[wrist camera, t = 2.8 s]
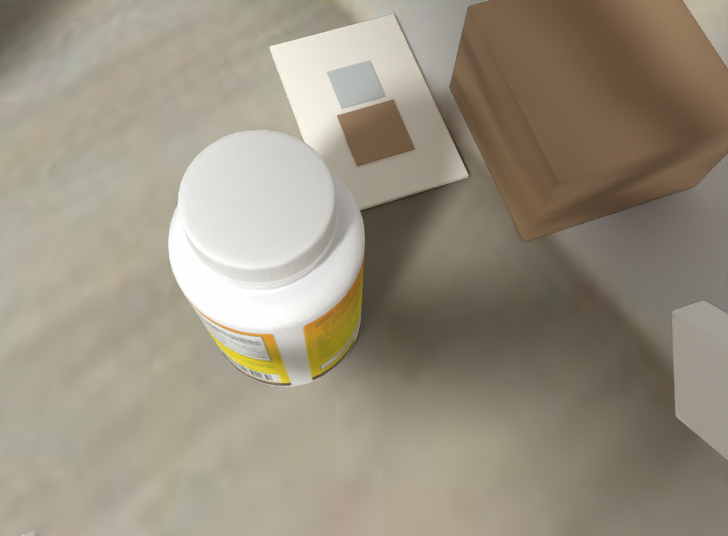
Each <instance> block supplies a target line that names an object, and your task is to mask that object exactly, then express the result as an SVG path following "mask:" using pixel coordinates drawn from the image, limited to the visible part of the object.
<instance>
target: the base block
mask: <svg viewBox="0 0 728 536" xmlns="http://www.w3.org/2000/svg"><path fill="white" fill-rule="evenodd" d="M450 89H451V91H452V93H453V96H454V98H455V100H456V102H457V104H458V106H459V108H460V110H461V112H462V114H463V117H464V119H465V121H466V123H467V125H468V127H469V129H470V131H471V133H472V135H473V137H474V140H475V142H476V144H477V146H478V148H479V150H480V152H481V154H482V156H483V158H484V160H485V163H486V165H487V167H488V169H489V171H490V173H491V175H492V177H493V179H494V181H495V183H496V186H497V188H498V190H499V192H500V194H501V196H502V198H503V200H504V202H505V204H506V207H507V209H508V211H509V213H510V215H511V217H512V219H513V221H514V223H515V225H516V227H517V230H518V232H519V234H520V236H521V238H522V240H523V242H526V241H529V240H532V239H535V238H538V237H541V236H545V235H548V234H551V233H554V232H557V231H560V230H563V229H566V228H569V227H572V226H575V225H578V224H581V223H584V222H587V221H591V220H594V219H597V218H600V217H603V216H606V215H609V214H612V213H615V212H618V211H621V210H624V209H627V208H630V207H633V206H637V205H640V204H643V203H646V202H649V201H652V200H655V199H658V198H661V197H664V196H667V195H670V194H673V193H676V192H680V191H683V190H686V189H689V188H692V187H695V186H696V185H697V184H698V183H699V182H700V181H701V180H702V179H703V178H704V177H705V176H706V175H707V174H708V173H709V172H710V170H711V169H712V168H713V167H714V166H715V165H716V164H717V163H718V162H719V161H720V160H721V159H722V158H723V157H724V156H725V155H726V154H727V153H728V69H727V67H726V66H725V64H724V63H723V61H722V60H721V58H720V57H719V55H718V54H717V52H716V51H715V49H714V47H713V46H712V44H711V43H710V41H709V40H708V38H707V37H706V35H705V34H704V32H703V31H702V29H701V28H700V26H699V25H698V23H697V22H696V20H695V19H694V17H693V16H692V14H691V13H690V11H689V10H688V8H687V7H686V5H685V4H684V2H683V0H490V1H487V2H483V3H479V4H475V5H472V6H468V10H467V14H466V18H465V23H464V27H463V31H462V36H461V40H460V44H459V49H458V53H457V57H456V62H455V66H454V70H453V74H452V79H451V83H450Z"/></svg>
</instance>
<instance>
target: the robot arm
mask: <svg viewBox="0 0 728 536" xmlns="http://www.w3.org/2000/svg"><path fill="white" fill-rule="evenodd" d="M672 335H673V361H674V388H675V414H676V417H677V418H678V419H679V420H680V421H682V422H683V423H684V424H685V425H686V426H688V427H689V428H690V429H691V430H692V431H693V432H695V433H696V434H697V435H698V436H699V437H701V438H702V439H703V440H704V441H705V442H707V443H708V444H709V445H710V446H711V447H713V448H714V449H715V450H716V451H717V452H718V453H720V454H721V455H722V456H723V457H724V458H726V459H727V460H728V314H727V313H726V312H724V311H722V310H720V309H719V308H717V307H715V306H713V305H712V304H710V303H708V302H706V301H705V300H702V301H699V302H696V303H693V304H690V305H688V306H685V307H682V308H679V309H676V310H673V311H672ZM20 536H38V535H37V533H36V531H35V530H34V531H31V532H28V533H26V534H23V535H20Z"/></svg>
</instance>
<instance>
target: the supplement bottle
mask: <svg viewBox="0 0 728 536" xmlns="http://www.w3.org/2000/svg"><path fill="white" fill-rule="evenodd" d="M168 250H169V259H170V263H171V267H172V270H173V273H174V275H175V278H176V280H177V282H178V284H179V286H180V288H181V290H182V291H183V293H184V295H185V296H186V298H187V299H188V301H189V302H190V304H191V305H192V307H193V308H194V310H195V311H196V313H197V314H198V316H199V317H200V319H201V320H202V322H203V323H204V325H205V326H206V328H207V330H208V331H209V333H210V334H211V335H212V337H213V339H214V340H215V341H216V343H217V344H218V346H219V347H220V349H221V350H222V352H223V354H224V355H225V356H226V358H227V359H228V360H229V361H230V362H231V363H232V364H233V365H234V366H235V367H236V368H237V369H238V370H239V371H240V372H241V373H243V374H244V375H246V376H247V377H249V378H251V379H253V380H255V381H258V382H260V383H264V384H267V385H272V386H280V387H291V386H299V385H303V384H307V383H310V382H313V381H315V380H318V379H320V378H322V377H323V376H325V375H327V374H328V373H330V372H331V371H332V370H334V369H335V368H336V367H337V366H338V365H339V364H340V363H341V362H342V361H343V360H344V359H345V357H346V356H347V355H348V354H349V352H350V350H351V349H352V347H353V345H354V343H355V341H356V338H357V335H358V332H359V327H360V322H361V308H362V290H363V269H364V252H365V233H364V224H363V219H362V215H361V212H360V209H359V206H358V204H357V202H356V199H355V198H354V196H353V194H352V192H351V191H350V190H349V188H348V187H347V186H346V184H345V183H344V182H343V181H342V180H341V179H340V178H339V177H338V176H337V175H336V174H335V173H334V172H333V171H331V170H330V169H329V168H328V167H327V165H326V163H325V162H324V160H323V159H322V157H321V156H320V155H319V154H318V153H317V152H316V151H315V150H314V149H313V148H312V147H310V146H309V145H308V144H306V143H305V142H303V141H302V140H300V139H298V138H296V137H294V136H292V135H289V134H286V133H283V132H279V131H274V130H264V129H253V130H244V131H240V132H236V133H232V134H230V135H227V136H225V137H222V138H220V139H218V140H216V141H215V142H213V143H212V144H210V145H209V146H208V147H206V148H205V149H203V150H202V151H201V152H200V153H199V154H198V155H197V156H196V157H195V158H194V160H193V161H192V163H191V164H190V165H189V167H188V169H187V170H186V172H185V174H184V176H183V179H182V181H181V184H180V189H179V194H178V205H177V207H176V209H175V212H174V214H173V218H172V221H171V225H170V230H169V239H168Z"/></svg>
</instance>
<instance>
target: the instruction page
mask: <svg viewBox="0 0 728 536" xmlns="http://www.w3.org/2000/svg"><path fill="white" fill-rule="evenodd" d="M269 48H270V52H271V54H272V57H273V60H274V62H275V65H276V68H277V70H278V73H279V76H280V78H281V81H282V84H283V86H284V89H285V92H286V94H287V97H288V100H289V102H290V105H291V108H292V110H293V113H294V116H295V118H296V121H297V124H298V126H299V129H300V132H301V135H302V137H303V140H304V142H305V143H306V144H308V145H309V146H310V147H312V148H313V149H314V150H315V151H316V152H317V153H318V154H319V155H320V156H321V157H322V159H323V160H324V162H325V163H326V165H327V167H328V168H329V169H330V170H331V171H333V172H334V173H335V174H336V175H337V176H338V177H339V178H340V179H341V180H342V181H343V182H344V183H345V184H346V186H347V187H348V188H349V190H350V191H351V192H352V194H353V196H354V198H355V199H356V202H357V204H358V206H359V209H360V211H361V210H364V209H367V208H370V207H374V206H377V205H380V204H383V203H387V202H390V201H393V200H396V199H400V198H403V197H406V196H409V195H413V194H416V193H419V192H422V191H426V190H429V189H432V188H436V187H439V186H442V185H445V184H449V183H452V182H455V181H458V180H462V179H465V178H468V176H469V175H468V173H467V171H466V168H465V166H464V164H463V162H462V160H461V158H460V156H459V153H458V151H457V149H456V147H455V145H454V143H453V140H452V138H451V136H450V134H449V132H448V130H447V128H446V125H445V123H444V121H443V119H442V117H441V115H440V112H439V110H438V108H437V106H436V104H435V102H434V100H433V97H432V95H431V93H430V91H429V89H428V87H427V84H426V82H425V80H424V78H423V76H422V74H421V72H420V69H419V67H418V65H417V63H416V61H415V59H414V56H413V54H412V52H411V50H410V48H409V46H408V44H407V41H406V39H405V37H404V35H403V33H402V31H401V28H400V26H399V24H398V22H397V20H396V18H395V16H394V14H391V15H387V16H384V17H380V18H376V19H372V20H368V21H365V22H361V23H357V24H353V25H349V26H346V27H342V28H338V29H334V30H330V31H327V32H323V33H319V34H315V35H312V36H308V37H304V38H300V39H296V40H293V41H289V42H285V43H281V44H277V45H274V46H270V47H269Z"/></svg>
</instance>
